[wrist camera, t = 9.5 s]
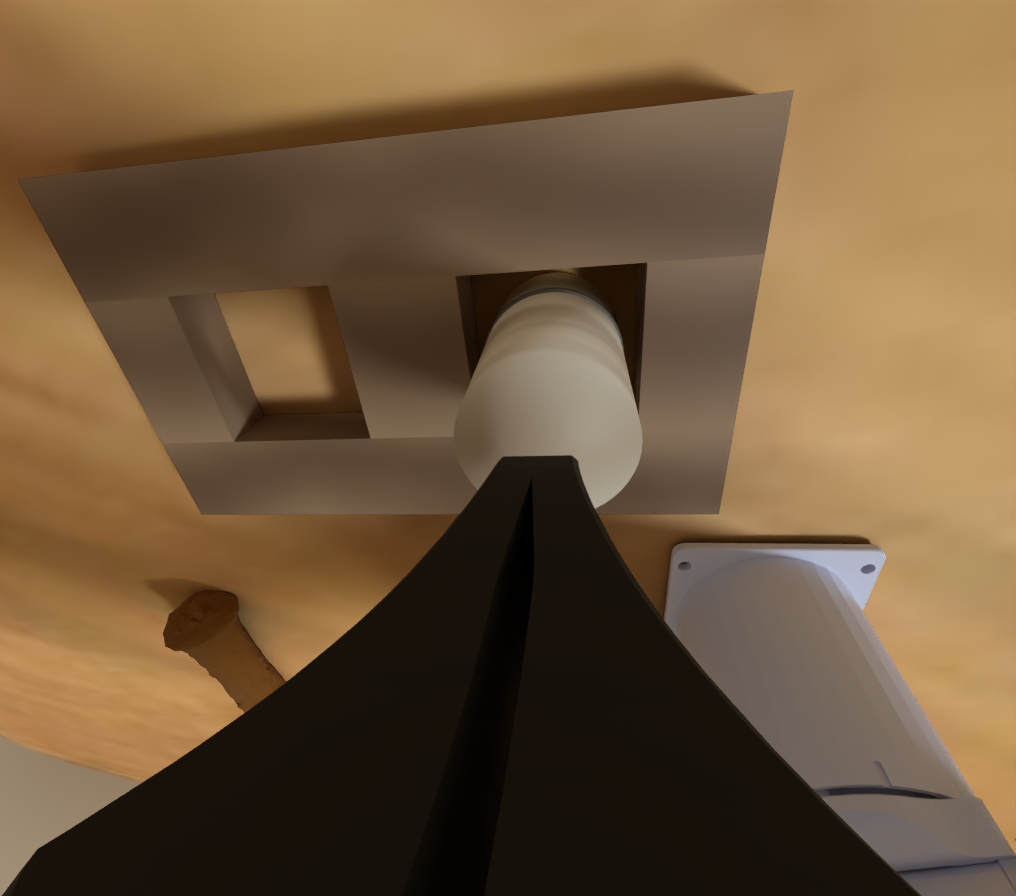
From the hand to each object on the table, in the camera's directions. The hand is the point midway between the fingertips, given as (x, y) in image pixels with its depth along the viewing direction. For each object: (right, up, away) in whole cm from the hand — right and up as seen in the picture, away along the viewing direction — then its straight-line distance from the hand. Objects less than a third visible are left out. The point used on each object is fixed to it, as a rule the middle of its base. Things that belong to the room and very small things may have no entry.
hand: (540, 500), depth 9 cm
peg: (+1, +5, +7) cm, 9 cm away
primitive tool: (-15, -14, +22) cm, 31 cm away
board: (-3, +5, +8) cm, 10 cm away
